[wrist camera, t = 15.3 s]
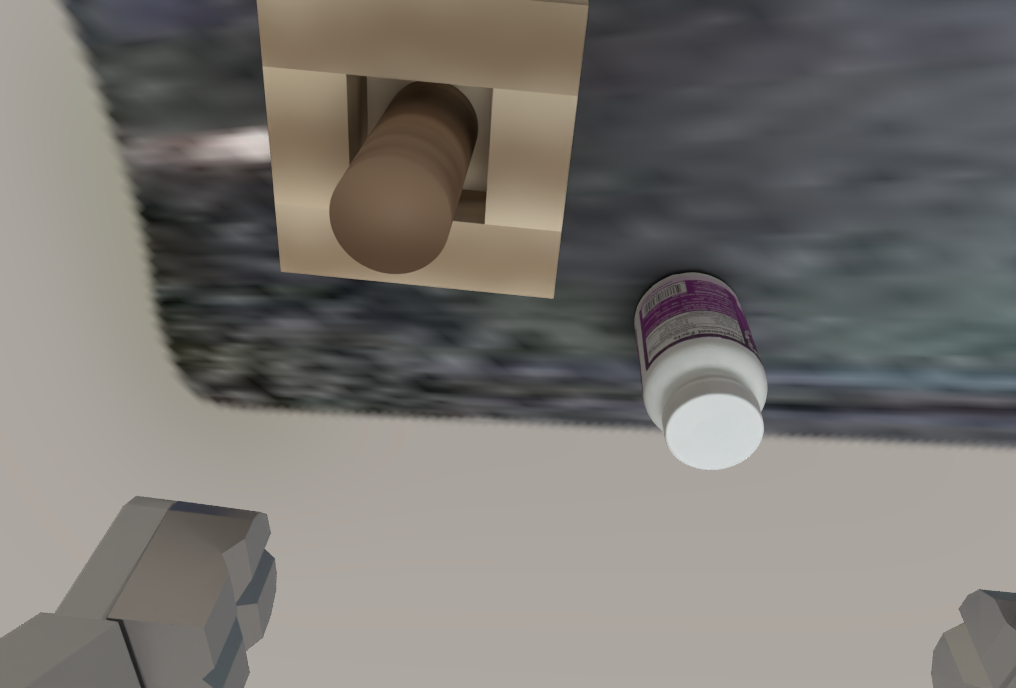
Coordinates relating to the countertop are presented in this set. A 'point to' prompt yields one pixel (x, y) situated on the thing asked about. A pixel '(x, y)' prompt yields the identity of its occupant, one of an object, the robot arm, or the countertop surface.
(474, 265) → the socket block
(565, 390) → the countertop surface
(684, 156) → the countertop surface
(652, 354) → the pill bottle
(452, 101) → the peg
